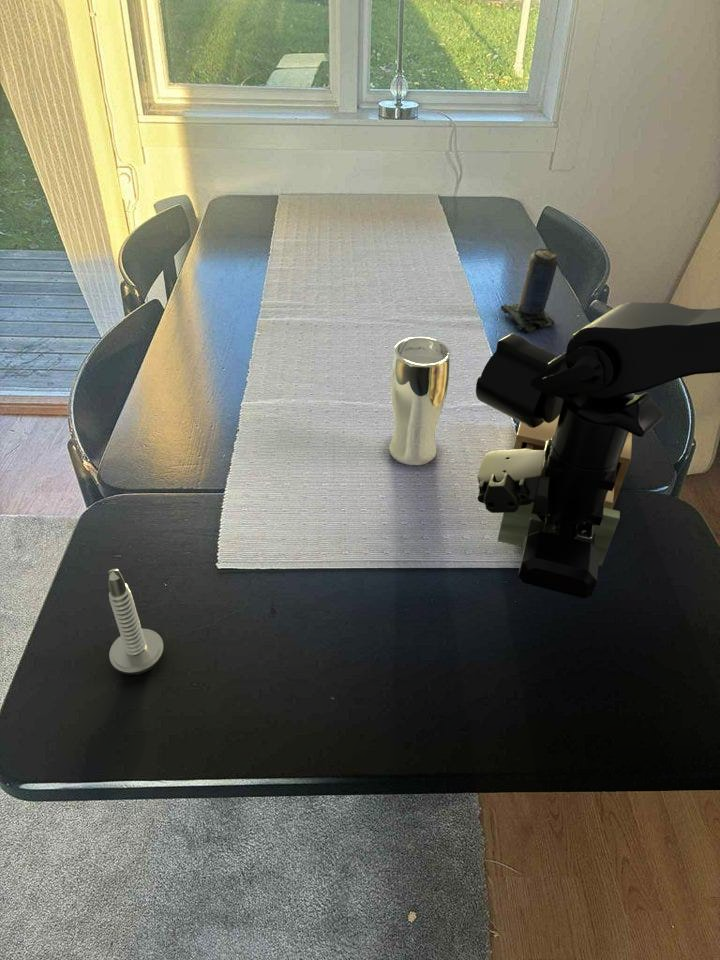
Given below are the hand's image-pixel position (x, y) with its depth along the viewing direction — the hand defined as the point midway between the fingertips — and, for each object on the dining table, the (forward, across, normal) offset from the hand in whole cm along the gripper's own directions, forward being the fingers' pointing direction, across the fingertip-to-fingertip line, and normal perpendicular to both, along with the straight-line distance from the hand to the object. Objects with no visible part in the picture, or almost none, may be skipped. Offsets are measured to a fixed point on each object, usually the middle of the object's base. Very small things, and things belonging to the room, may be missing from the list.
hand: (548, 570), depth 70 cm
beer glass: (+5, -20, -19) cm, 28 cm away
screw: (+5, +20, -35) cm, 41 cm away
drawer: (+4, -11, 0) cm, 11 cm away
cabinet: (+5, -22, 0) cm, 23 cm away
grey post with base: (+5, -62, -10) cm, 62 cm away
